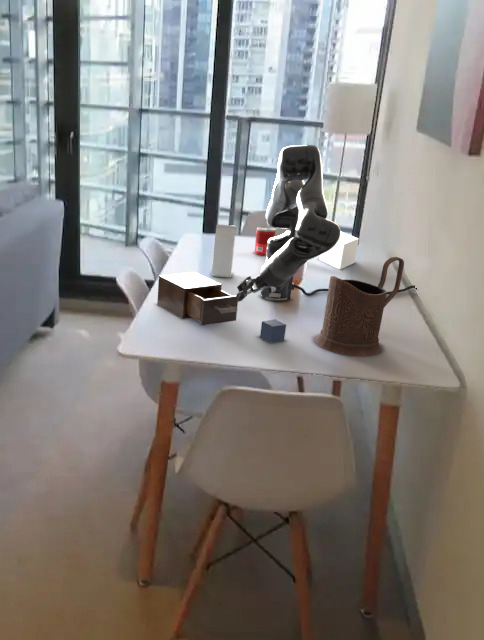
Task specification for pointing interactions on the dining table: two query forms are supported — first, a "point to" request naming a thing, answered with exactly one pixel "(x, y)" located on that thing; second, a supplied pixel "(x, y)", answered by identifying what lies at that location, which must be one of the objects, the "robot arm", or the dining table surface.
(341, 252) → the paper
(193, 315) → the drawer
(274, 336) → the block
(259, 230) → the canned food
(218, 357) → the dining table surface
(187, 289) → the cabinet
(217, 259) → the milk carton
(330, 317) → the cup holder
